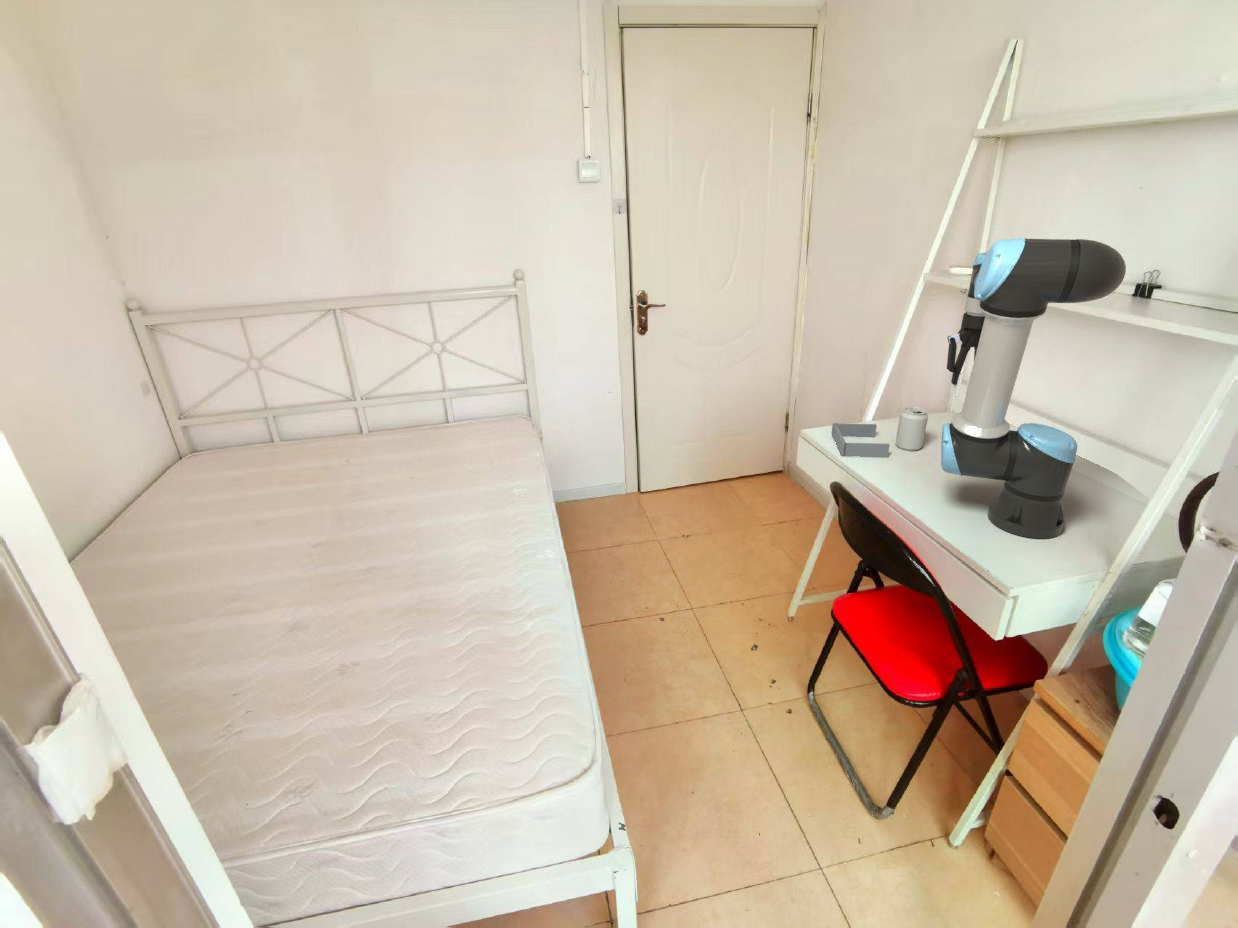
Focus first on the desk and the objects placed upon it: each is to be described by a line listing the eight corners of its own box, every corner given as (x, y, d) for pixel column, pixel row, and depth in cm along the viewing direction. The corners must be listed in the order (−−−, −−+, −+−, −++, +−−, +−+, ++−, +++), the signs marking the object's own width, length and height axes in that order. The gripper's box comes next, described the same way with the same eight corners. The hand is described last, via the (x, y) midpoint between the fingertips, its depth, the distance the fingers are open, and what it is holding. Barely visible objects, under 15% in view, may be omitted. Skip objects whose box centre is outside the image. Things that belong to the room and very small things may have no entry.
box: (887, 457, 182) (889, 444, 181) (841, 456, 184) (842, 444, 182) (874, 435, 197) (875, 424, 195) (831, 435, 198) (832, 423, 197)
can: (908, 453, 184) (915, 415, 179) (889, 444, 191) (895, 407, 185) (927, 449, 187) (935, 411, 182) (908, 440, 193) (914, 403, 188)
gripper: (1005, 309, 172) (986, 391, 183) (943, 310, 174) (928, 390, 184) (1017, 315, 166) (996, 400, 176) (953, 316, 168) (936, 399, 178)
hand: (961, 395), depth 180 cm, fingers open, 3 cm apart
